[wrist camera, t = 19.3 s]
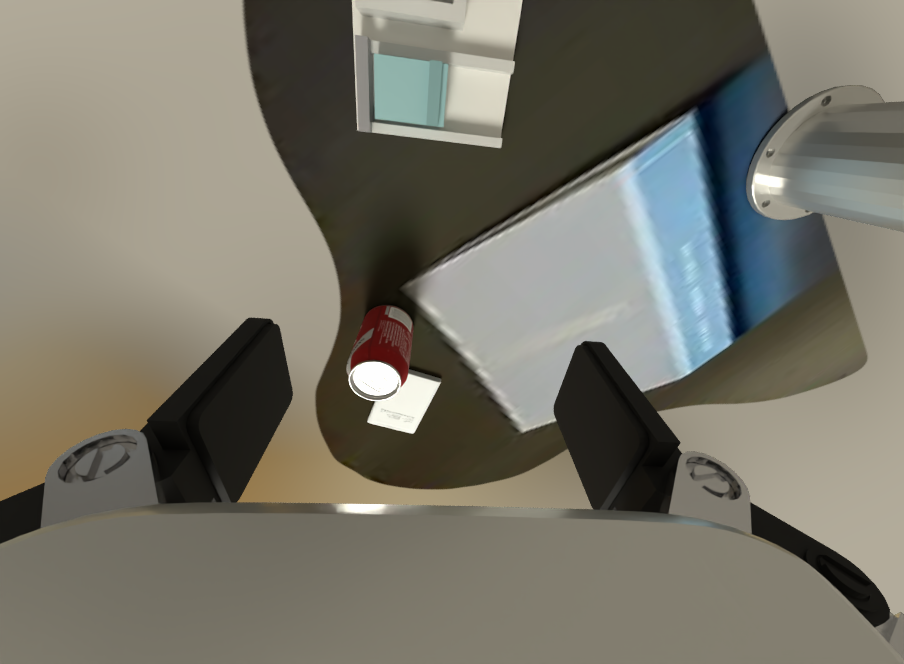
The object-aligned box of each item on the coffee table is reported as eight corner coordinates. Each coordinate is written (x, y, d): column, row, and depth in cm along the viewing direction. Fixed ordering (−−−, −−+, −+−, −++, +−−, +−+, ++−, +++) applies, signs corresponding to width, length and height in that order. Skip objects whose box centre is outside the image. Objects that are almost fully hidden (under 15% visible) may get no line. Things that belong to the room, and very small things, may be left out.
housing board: (537, -109, 25) (551, -143, 22) (497, 146, 34) (503, 148, 31) (349, -146, 23) (336, -188, 20) (359, 129, 32) (351, 130, 29)
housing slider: (447, 69, 29) (448, 62, 26) (442, 127, 31) (443, 127, 28) (379, 59, 28) (372, 51, 25) (380, 119, 31) (373, 118, 28)
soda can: (393, 293, 42) (379, 345, 32) (423, 329, 45) (419, 388, 35) (353, 318, 44) (328, 375, 34) (385, 351, 47) (371, 413, 37)
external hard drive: (441, 376, 51) (414, 427, 57) (390, 361, 49) (368, 415, 55) (441, 383, 49) (413, 434, 55) (389, 368, 47) (366, 423, 53)
